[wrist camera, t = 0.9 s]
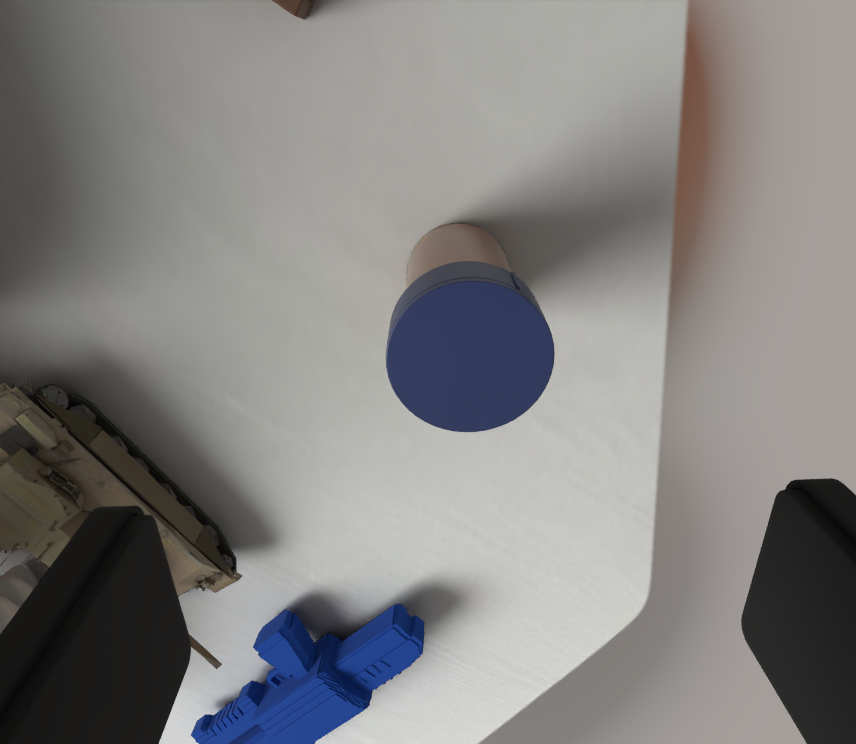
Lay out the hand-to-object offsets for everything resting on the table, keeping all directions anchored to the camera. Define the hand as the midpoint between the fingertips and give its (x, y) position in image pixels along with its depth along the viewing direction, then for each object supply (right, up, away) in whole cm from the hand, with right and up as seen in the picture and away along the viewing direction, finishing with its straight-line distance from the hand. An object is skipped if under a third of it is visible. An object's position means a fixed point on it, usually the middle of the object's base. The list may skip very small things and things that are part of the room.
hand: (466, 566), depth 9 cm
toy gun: (-14, -17, +34) cm, 40 cm away
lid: (+1, +4, +14) cm, 14 cm away
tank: (-20, -6, +30) cm, 37 cm away
